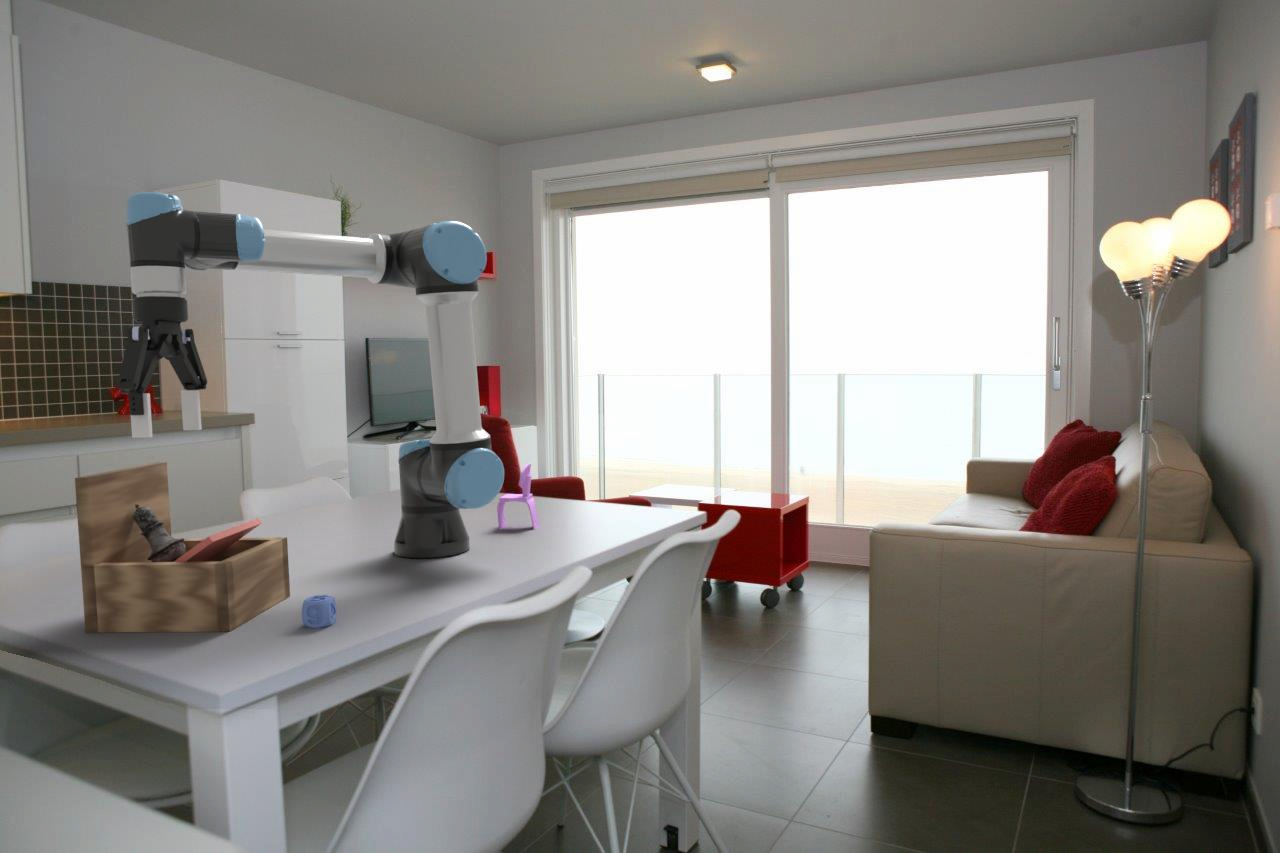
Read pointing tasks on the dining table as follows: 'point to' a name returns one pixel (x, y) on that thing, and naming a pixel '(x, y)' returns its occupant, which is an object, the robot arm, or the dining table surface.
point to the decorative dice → (319, 611)
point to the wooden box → (165, 564)
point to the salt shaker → (158, 537)
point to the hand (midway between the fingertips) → (168, 433)
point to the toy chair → (519, 499)
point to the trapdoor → (217, 543)
